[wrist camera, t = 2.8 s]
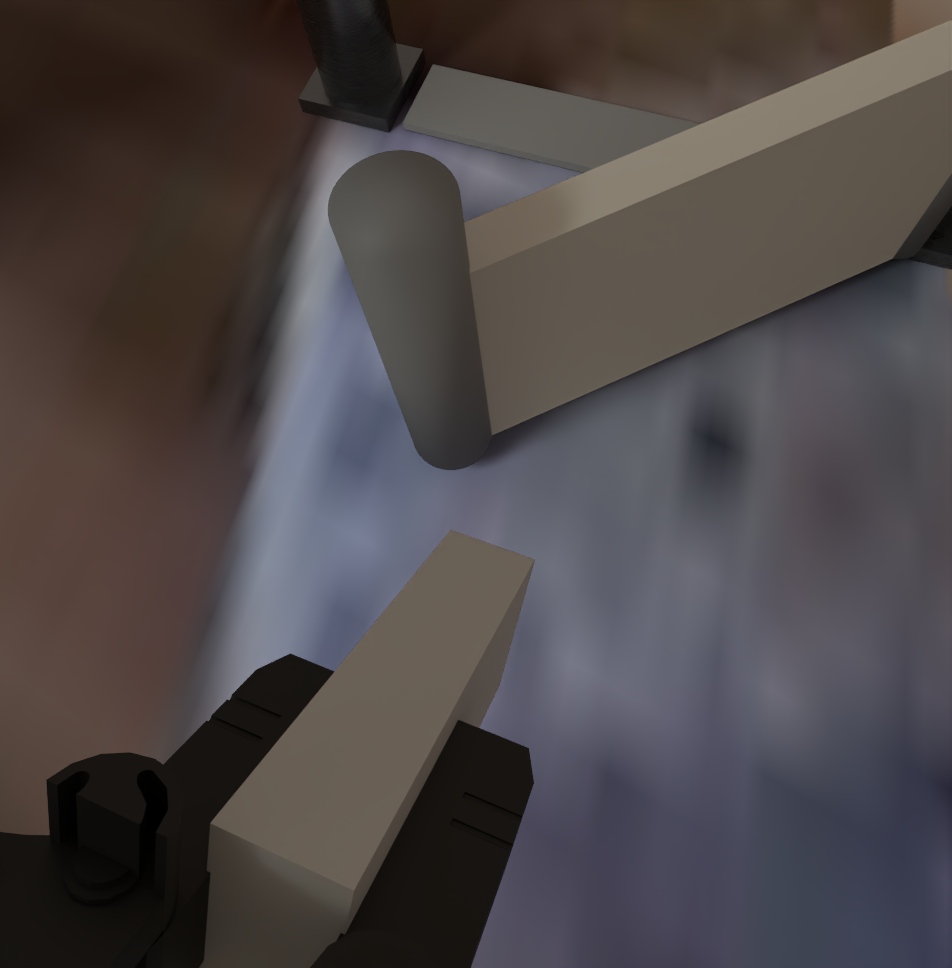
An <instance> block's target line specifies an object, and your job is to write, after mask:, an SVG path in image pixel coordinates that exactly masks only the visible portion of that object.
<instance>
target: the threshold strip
mask: <svg viewBox="0 0 952 968" xmlns="http://www.w3.org/2000/svg"><path fill="white" fill-rule="evenodd" d="M697 125H700V123H696V122H691V121H687V120H682V119H678V118H673V117H669V116H664V115H659V114H655V113H650V112H646V111H641V110H637V109H632V108H628V107H623V106H619V105H614V104H610V103H605V102H601V101H596V100H592V99H587V98H583V97H578V96H574V95H569V94H565V93H560V92H556V91H551V90H547V89H542V88H538V87H533V86H529V85H524V84H520V83H515V82H511V81H506V80H502V79H497V78H493V77H488V76H484V75H479V74H475V73H470V72H466V71H461V70H457V69H452V68H448V67H443V66H439V65H434V64H433V65H432V67H431V69H430V71H429V73H428V75H427V77H426V79H425V81H424V83H423V85H422V87H421V88H420V90H419V92H418V94H417V96H416V98H415V100H414V102H413V104H412V106H411V108H410V110H409V112H408V113H407V115H406V117H405V119H404V121H403V127H404V129H405V130H409V131H414V132H418V133H422V134H426V135H430V136H434V137H438V138H443V139H447V140H451V141H455V142H459V143H463V144H467V145H472V146H476V147H480V148H484V149H488V150H492V151H496V152H501V153H505V154H509V155H513V156H517V157H521V158H525V159H530V160H534V161H538V162H542V163H546V164H550V165H554V166H559V167H563V168H567V169H571V170H575V171H579V172H583V173H585V172H587V171H589V170H592V169H594V168H597V167H599V166H601V165H604V164H606V163H609V162H611V161H613V160H616V159H618V158H621V157H623V156H625V155H628V154H630V153H633V152H635V151H637V150H640V149H642V148H645V147H647V146H649V145H652V144H654V143H657V142H659V141H661V140H664V139H666V138H669V137H671V136H673V135H676V134H678V133H681V132H683V131H685V130H688V129H690V128H693V127H695V126H697Z"/></svg>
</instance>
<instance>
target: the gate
mask: <svg viewBox="0 0 952 968" xmlns="http://www.w3.org/2000/svg"><path fill="white" fill-rule="evenodd" d="M951 206H952V20H950V21H947V22H945V23H943V24H940V25H938V26H936V27H933V28H931V29H928V30H926V31H923V32H921V33H919V34H916V35H914V36H911V37H909V38H906V39H904V40H902V41H899V42H897V43H894V44H892V45H890V46H887V47H885V48H882V49H880V50H878V51H875V52H873V53H870V54H868V55H866V56H863V57H861V58H858V59H856V60H854V61H851V62H849V63H846V64H844V65H842V66H839V67H837V68H834V69H832V70H830V71H827V72H825V73H822V74H820V75H818V76H815V77H813V78H810V79H808V80H806V81H803V82H801V83H798V84H796V85H794V86H791V87H789V88H786V89H784V90H782V91H779V92H777V93H774V94H772V95H770V96H767V97H765V98H762V99H760V100H758V101H755V102H753V103H750V104H748V105H746V106H743V107H741V108H738V109H736V110H734V111H731V112H729V113H726V114H724V115H722V116H719V117H717V118H714V119H712V120H709V121H707V122H705V123H702V124H700V125H697V126H695V127H693V128H690V129H688V130H685V131H683V132H681V133H678V134H676V135H673V136H671V137H669V138H666V139H664V140H661V141H659V142H657V143H654V144H652V145H649V146H647V147H645V148H642V149H640V150H637V151H635V152H633V153H630V154H628V155H625V156H623V157H621V158H618V159H616V160H613V161H611V162H609V163H606V164H604V165H601V166H599V167H597V168H594V169H592V170H589V171H587V172H585V173H582V174H580V175H577V176H575V177H573V178H570V179H568V180H565V181H563V182H561V183H558V184H556V185H553V186H551V187H549V188H546V189H544V190H541V191H539V192H537V193H534V194H532V195H529V196H527V197H525V198H522V199H520V200H517V201H515V202H512V203H510V204H508V205H505V206H503V207H500V208H498V209H496V210H493V211H491V212H488V213H486V214H484V215H481V216H479V217H476V218H474V219H472V220H469V221H467V222H464V219H463V212H462V205H461V197H460V190H459V187H458V184H457V181H456V179H455V177H454V176H453V174H452V173H451V171H450V170H449V169H448V168H447V167H446V166H445V165H443V164H442V163H441V162H440V161H438V160H436V159H435V158H433V157H430V156H428V155H426V154H422V153H419V152H414V151H405V150H398V151H388V152H383V153H378V154H375V155H372V156H370V157H368V158H365V159H363V160H361V161H360V162H358V163H356V164H355V165H353V166H352V167H351V168H349V169H348V170H347V171H346V172H345V173H344V174H343V175H342V176H341V178H340V179H339V180H338V181H337V183H336V185H335V186H334V188H333V190H332V192H331V195H330V198H329V203H328V217H329V222H330V225H331V227H332V230H333V233H334V235H335V238H336V241H337V243H338V246H339V248H340V251H341V254H342V256H343V259H344V262H345V264H346V267H347V269H348V272H349V275H350V277H351V280H352V283H353V285H354V288H355V290H356V293H357V296H358V298H359V301H360V304H361V306H362V309H363V311H364V314H365V317H366V319H367V322H368V325H369V327H370V330H371V332H372V335H373V338H374V340H375V343H376V346H377V348H378V351H379V353H380V356H381V359H382V361H383V364H384V367H385V369H386V372H387V374H388V377H389V380H390V382H391V385H392V388H393V390H394V393H395V395H396V398H397V401H398V403H399V406H400V409H401V411H402V414H403V416H404V419H405V422H406V424H407V427H408V430H409V432H410V435H411V437H412V440H413V443H414V445H415V448H416V450H417V452H418V454H419V455H420V456H421V457H422V458H423V459H424V460H425V461H426V462H427V463H428V464H430V465H432V466H434V467H437V468H440V469H445V470H457V469H462V468H465V467H468V466H470V465H472V464H474V463H475V462H476V461H478V460H479V459H480V458H481V457H482V456H483V455H484V454H485V452H486V451H487V449H488V447H489V445H490V442H491V438H492V435H494V434H496V433H499V432H501V431H503V430H506V429H508V428H510V427H512V426H515V425H517V424H519V423H521V422H524V421H526V420H528V419H530V418H533V417H535V416H537V415H539V414H542V413H544V412H546V411H549V410H551V409H553V408H555V407H558V406H560V405H562V404H564V403H567V402H569V401H571V400H573V399H576V398H578V397H580V396H583V395H585V394H587V393H589V392H592V391H594V390H596V389H598V388H601V387H603V386H605V385H607V384H610V383H612V382H614V381H617V380H619V379H621V378H623V377H626V376H628V375H630V374H632V373H635V372H637V371H639V370H641V369H644V368H646V367H648V366H650V365H653V364H655V363H657V362H660V361H662V360H664V359H666V358H669V357H671V356H673V355H675V354H678V353H680V352H682V351H684V350H687V349H689V348H691V347H694V346H696V345H698V344H700V343H703V342H705V341H707V340H709V339H712V338H714V337H716V336H718V335H721V334H723V333H725V332H728V331H730V330H732V329H734V328H737V327H739V326H741V325H743V324H746V323H748V322H750V321H752V320H755V319H757V318H759V317H761V316H764V315H766V314H768V313H771V312H773V311H775V310H777V309H780V308H782V307H784V306H786V305H789V304H791V303H793V302H795V301H798V300H800V299H802V298H805V297H807V296H809V295H811V294H814V293H816V292H818V291H820V290H823V289H825V288H827V287H829V286H832V285H834V284H836V283H839V282H841V281H843V280H845V279H848V278H850V277H852V276H854V275H857V274H859V273H861V272H863V271H866V270H868V269H870V268H873V267H875V266H877V265H879V264H882V263H884V262H886V261H888V260H891V259H906V258H909V257H912V256H914V255H915V254H916V253H918V252H919V250H920V249H921V247H922V246H923V245H924V243H925V242H926V241H927V239H928V238H929V237H930V235H931V234H932V232H933V231H934V230H935V228H936V227H937V226H938V224H939V223H940V222H941V220H942V219H943V217H944V216H945V215H946V213H947V212H948V211H949V209H950V208H951Z"/></svg>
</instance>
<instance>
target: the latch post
mask: <svg viewBox="0 0 952 968" xmlns="http://www.w3.org/2000/svg"><path fill="white" fill-rule="evenodd" d="M296 1H297V5H298V8H299V11H300V14H301V17H302V20H303V24H304V27H305V30H306V33H307V36H308V39H309V43H310V46H311V49H312V52H313V55H314V59H315V62H316V65H317V67H316V69H315V71H314V72H313V74H312V76H311V77H310V79H309V81H308V83H307V84H306V86H305V88H304V89H303V91H302V93H301V95H300V96H299V98H298V99H299V102H300V105H301V108H302V110H303V112H307V113H312V114H316V115H320V116H324V117H328V118H332V119H336V120H340V121H344V122H349V123H353V124H357V125H361V126H365V127H369V128H373V129H377V130H381V131H386V132H389V131H390V129H391V127H392V125H393V123H394V121H395V119H396V118H397V116H398V114H399V112H400V110H401V108H402V106H403V104H404V102H405V100H406V99H407V97H408V95H409V93H410V91H411V89H412V87H413V85H414V83H415V81H416V79H417V78H418V76H419V74H420V72H421V70H422V68H423V66H424V64H425V58H424V52H423V49H420V48H415V47H411V46H406V45H402V44H397V43H396V42H395V37H394V32H393V27H392V22H391V17H390V12H389V6H388V1H387V0H296Z"/></svg>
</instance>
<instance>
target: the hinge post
mask: <svg viewBox="0 0 952 968" xmlns="http://www.w3.org/2000/svg"><path fill="white" fill-rule="evenodd" d="M907 259H911V260H915V261H919V262H924V263H928V264H932V265H936V266H940V267H944V268H948V269H952V206H951V208H950V209H949V211H948V212H947V213H946V215H945V216H944V217H943V219H942V220H941V222H940V223H939V224H938V226H937V227H936V228H935V230H934V231H933V232H932V234H931V235H930V237H929V238H928V239H927V241H926V242H925V243H924V245H923V246H922V247H921V249H920V250H919V252H918V253H916V254H915V255H914V256H912V257H909V258H907Z"/></svg>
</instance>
